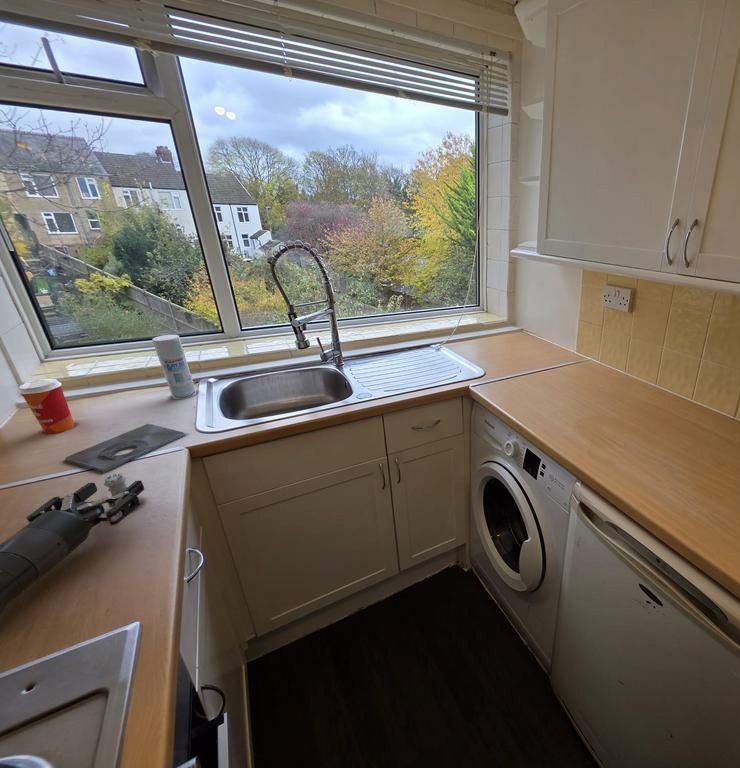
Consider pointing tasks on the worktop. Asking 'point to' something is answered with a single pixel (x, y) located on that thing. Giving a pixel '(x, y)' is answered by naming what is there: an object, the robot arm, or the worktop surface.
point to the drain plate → (124, 447)
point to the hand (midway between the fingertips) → (117, 485)
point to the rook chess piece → (116, 485)
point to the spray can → (174, 366)
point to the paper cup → (48, 404)
